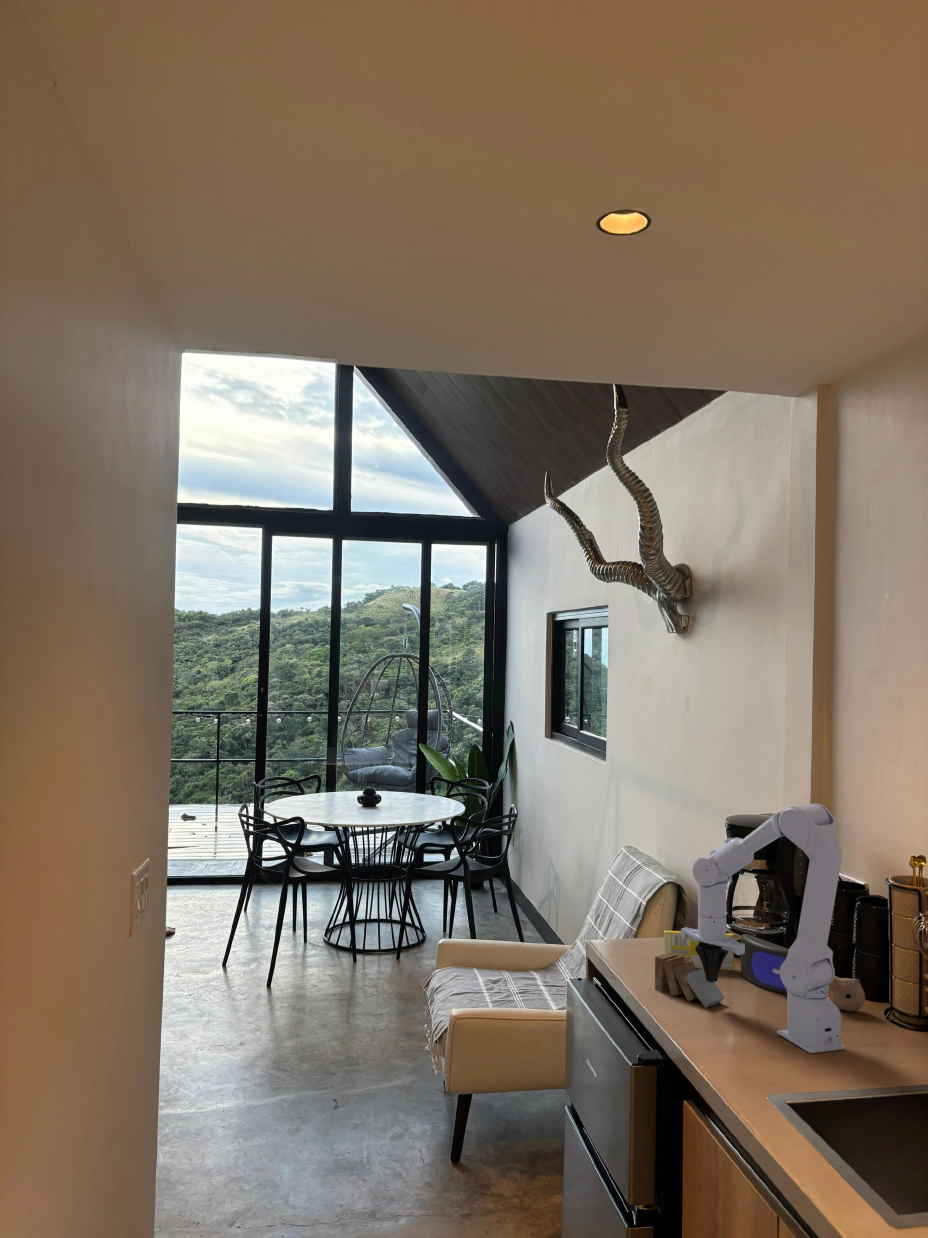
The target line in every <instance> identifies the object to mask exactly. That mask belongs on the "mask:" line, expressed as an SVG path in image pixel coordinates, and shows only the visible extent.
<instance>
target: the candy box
mask: <svg viewBox="0 0 928 1238" xmlns="http://www.w3.org/2000/svg"><path fill="white" fill-rule="evenodd" d="M726 935H727V937H729V938H731V939H733V940H735V938H734V934H733V933H727V932H726ZM698 944H699V942H698V941H694V940H691V939H688V938H686V939H684V938H681V930H663V954H667V953H672V954H675V955H677V957H682V956H684V958H685V962H686V963H688V962H691V961H693V963H694V965H695V967H696V968H697V970H700V969H703V965H702V962H701V959H700V957H699V955H698V953H697V952H696V950H695V946H697V945H698ZM720 971H732V972H733V971H735V953H734V952H731V951H729V952H728V953H727V955H726V957H725V959H724V961H723V963H722V965H721V968H720Z"/></svg>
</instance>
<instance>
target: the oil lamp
mask: <svg viewBox="0 0 928 1238" xmlns="http://www.w3.org/2000/svg"><path fill="white" fill-rule="evenodd" d="M828 988H830V993H831V999H832V1000H831V1002H832V1003H833V1004H834V1005H836V1006H837V1007H838V1009H839V1010H840V1009H841V1010H844V1011H846V1012H855V1011H858V1010H860V1009H862V1007H863V1006H864V1004H865V1002H866V995H865V994H866V993H865V991H864V989H863V987H862V984H861V981H860V979H858V978H848V977H844V978H841V977H838V976H836V975H834V979H833V981H832V982H831V983H830V984H828Z"/></svg>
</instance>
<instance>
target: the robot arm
mask: <svg viewBox="0 0 928 1238" xmlns="http://www.w3.org/2000/svg"><path fill="white" fill-rule="evenodd" d="M837 823H838V822H837V820H836V818H835V817H834V816H833V814H832V813H831V812H830V811H829V809H828V808H827V807H826V806H824V805H823V804H821V803H815V802H814V803H810V804H805V805H797V806H796V805H790V806H789V805H788V806H785V808H783V809H782V810H780V811H778V812H776V813H774V814H773V815H772V816H771V817H770V818H768V819H767V820H766V821H765V822H763V823H762V824H761V825H759V826H758V827H757V828H756V829H755V830H753V831H751V833H749V834H748V835H746V836H745V837H744V838H742V837H741V838H740V837H734V838H733V837H728V838H726V839H725V840H724V843H725V844H723V845H722V846H721V847H718V849H713V850H711V851H710V852H709V855H708V857H704V856H703V857H699V858H697V860H696V861H695V862H694V863H693V865H692V875H693V878H694V880H695V881H696V883H697V889H698V890H697V894H698V895H697V913H698V914H697V928H692V927H691V928H690V927H683V928H681V929H680V931H681V938H684V939H686V938H688V939H691V940H694V941H698V942H699V944H698V945H697V946H695V950H696V952H697V953H698V955H699V957H700V959H701V962H702V965H703V968H704V972H705V976H706V980H707V981H708V982H711V983H713V982H714V983H715V982H718V979H719V975H720V971H721V970H720V968H721V965H722V963H723V961H724V959H725V957H726V955H727V953H728V952H729V951H731V952H734V955H737V956H741V955H742V954H745V944H743V943H741V941H740V942H739V941H738V940H735V939H734V940H733V939H731V938H729V937H727V935H726V933H727V890H728V884H729V882H730V881H731V879H732V877H733V875H734V874H736V873H738V872H739V871H741V870H742V869H743V868H745V867H747V866H748V865H749V864H751V863H752V862H753V861H754V858H755V856H754V854H755V853H756V852H758V851H759V850H761V849H763V848H764V847H765V846H767V845H769V844H771V843H772V842H774V841H776V840H777V839H779V838H782V837H786V838H787V839H788V840H790V841H791V843H793V844H794V845H795V846H796V847H798V848H799V849H800V850H801V851H803V852H804V853H805V855H806V857H807V858H808V859H809V863H808V869H807V875H806V882H805V886H804V891H803V892H804V893H803V899H802V903H801V905H802V906H801V912H800V917H799V922H798V929H797V933H796V935H797V936H796V939H795V940H794V942H793V943H792V945H790V947H789V948H788V949H789V950H788V954H787V958H786V960H785V961H784V962H783V963H782V965H781V967H780V977H781V980H782V983H783V984H784V986H785V987H786V992H787V994H786V995H787V999H786V1000H787V1004H786V1005H787V1007H786V1008H787V1009H786V1010H787V1013H786V1014H787V1015H786V1016H787V1019H786V1020H787V1023H786V1024H787V1029H781V1030H777V1031H776V1032H777V1034H778V1035H779V1036H781V1037H783V1038H784V1039H785V1040H787V1041H789V1042H791V1043H793V1044H795V1045H796V1046H798V1047H799V1048H801V1049H803V1050H804V1051H806V1052H808V1053H810V1054H816V1053H823V1052H832V1051H837V1050H845V1049H846V1046H845V1045H844V1044H842V1015H841V1012H840V1008H838V1007H837V1006H836V1005H834V1004H833V1003H832V1000H831V999H830V997H829V986H828V984H830V983H831V982H832V981H833V979H834V976H836V975H835V974H836V973H835V968H834V967H835V966H834V964H833V955H834V951H833V950H832V949H831V948H830V947H829V946H828V942H829V936H830V931H831V923H832V918H833V911H834V906H835V900H836V895H837V891H838V890H837V889H838V883H839V877H840V871H841V866H842V859H843V854H842V849H841V846H840V842H839V838H838V834H837V831H836V827H837Z"/></svg>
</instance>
